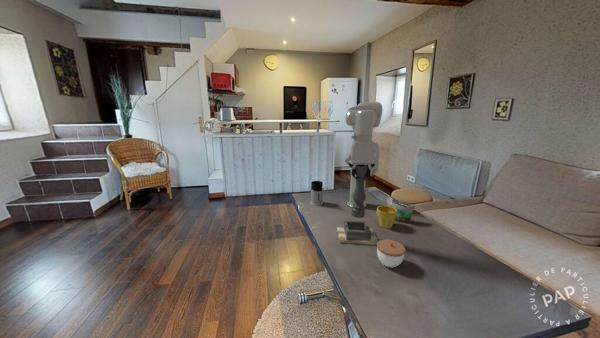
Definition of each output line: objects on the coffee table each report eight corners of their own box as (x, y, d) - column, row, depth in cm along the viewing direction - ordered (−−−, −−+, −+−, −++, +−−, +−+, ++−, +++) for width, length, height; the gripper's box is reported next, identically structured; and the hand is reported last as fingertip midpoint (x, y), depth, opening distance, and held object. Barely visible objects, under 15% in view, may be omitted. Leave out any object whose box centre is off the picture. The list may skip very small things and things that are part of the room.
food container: (390, 221, 130) (391, 205, 127) (390, 217, 135) (392, 201, 133) (414, 225, 125) (416, 208, 123) (413, 220, 131) (415, 204, 128)
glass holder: (316, 199, 162) (316, 179, 158) (331, 205, 152) (332, 184, 148) (307, 203, 156) (307, 182, 152) (322, 209, 146) (323, 187, 142)
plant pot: (374, 220, 131) (375, 204, 129) (393, 222, 129) (395, 206, 127) (376, 229, 121) (378, 212, 119) (397, 231, 119) (399, 213, 117)
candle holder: (364, 213, 113) (368, 164, 107) (364, 218, 107) (367, 167, 101) (352, 211, 115) (355, 163, 109) (350, 216, 109) (353, 166, 103)
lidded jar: (404, 274, 87) (407, 253, 85) (375, 268, 91) (377, 247, 88) (402, 258, 97) (404, 238, 95) (376, 253, 100) (377, 233, 98)
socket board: (337, 229, 121) (337, 219, 119) (371, 230, 120) (372, 221, 118) (339, 242, 108) (340, 232, 107) (378, 244, 107) (379, 234, 106)
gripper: (345, 139, 99) (343, 178, 103) (385, 139, 98) (381, 179, 102) (343, 137, 106) (341, 174, 110) (380, 137, 105) (377, 175, 109)
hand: (360, 176), depth 106 cm, fingers closed on candle holder, 5 cm apart
